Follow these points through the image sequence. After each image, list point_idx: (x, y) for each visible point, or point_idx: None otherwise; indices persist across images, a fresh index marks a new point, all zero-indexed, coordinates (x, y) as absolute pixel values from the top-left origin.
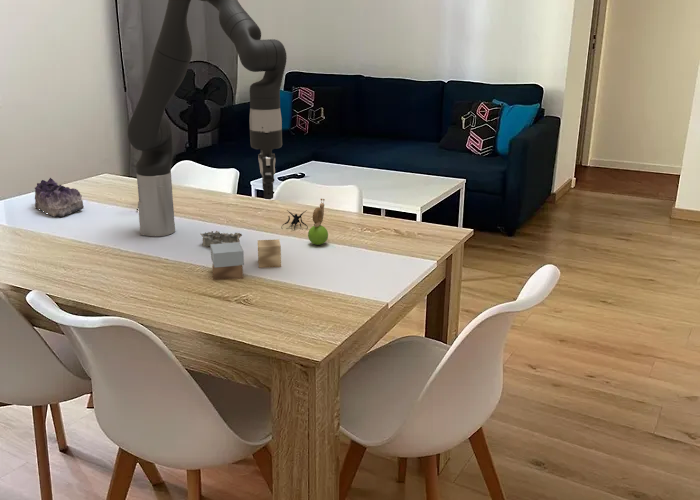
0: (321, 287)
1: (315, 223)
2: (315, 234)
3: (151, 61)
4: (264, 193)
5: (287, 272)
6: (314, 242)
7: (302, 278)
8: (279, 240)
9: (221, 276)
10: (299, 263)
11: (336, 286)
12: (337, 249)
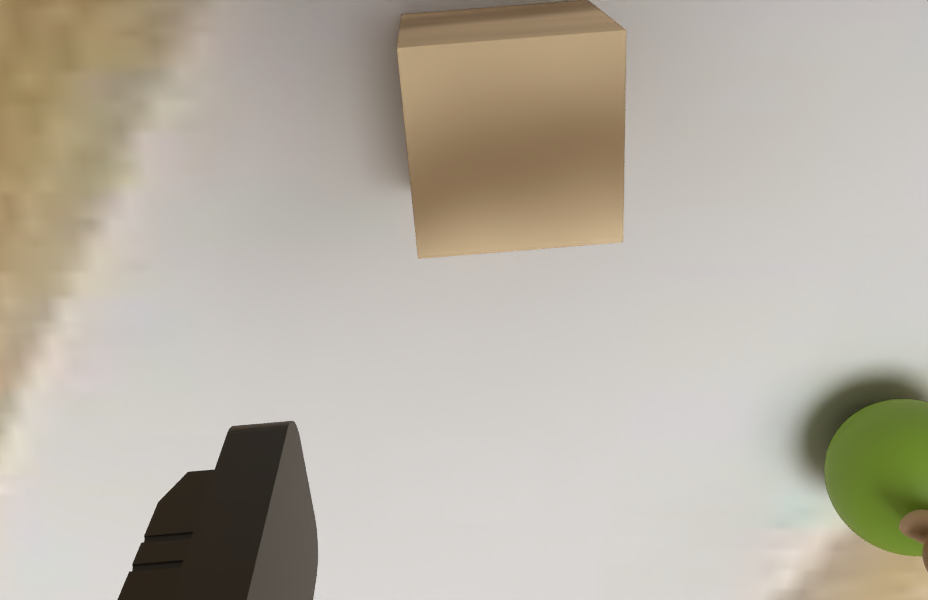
0: (33, 442)
1: (916, 535)
2: (856, 476)
3: None
4: (208, 491)
5: (298, 238)
6: (838, 429)
7: (183, 336)
8: (589, 244)
9: None
10: (486, 315)
11: (64, 516)
12: (739, 535)
